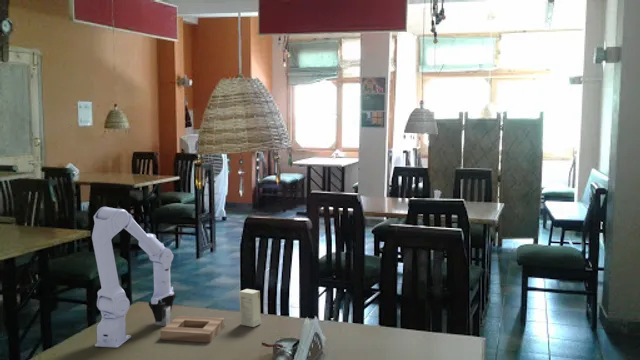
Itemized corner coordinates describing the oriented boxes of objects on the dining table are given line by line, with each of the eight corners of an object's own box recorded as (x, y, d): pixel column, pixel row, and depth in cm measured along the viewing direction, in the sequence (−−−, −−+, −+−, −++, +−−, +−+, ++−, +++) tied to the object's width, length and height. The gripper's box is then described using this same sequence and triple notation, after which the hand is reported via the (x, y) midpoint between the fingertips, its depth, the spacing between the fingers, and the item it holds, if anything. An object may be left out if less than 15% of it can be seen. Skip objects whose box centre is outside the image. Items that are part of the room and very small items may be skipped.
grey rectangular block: (166, 325, 200) (165, 309, 200) (155, 325, 201) (155, 308, 200) (170, 322, 204) (170, 305, 204) (160, 321, 205) (159, 305, 204)
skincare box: (261, 324, 202) (260, 290, 201) (253, 327, 199) (253, 293, 197) (247, 320, 206) (246, 287, 205) (239, 324, 202) (239, 290, 201)
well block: (210, 342, 185) (210, 333, 185) (160, 339, 188) (160, 330, 187) (224, 326, 200) (224, 318, 200) (178, 323, 202) (178, 315, 202)
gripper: (164, 286, 193) (165, 325, 195) (180, 275, 208) (181, 311, 209) (144, 285, 194) (146, 324, 196) (162, 274, 209) (163, 310, 210)
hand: (163, 317), depth 202 cm, fingers open, 7 cm apart
